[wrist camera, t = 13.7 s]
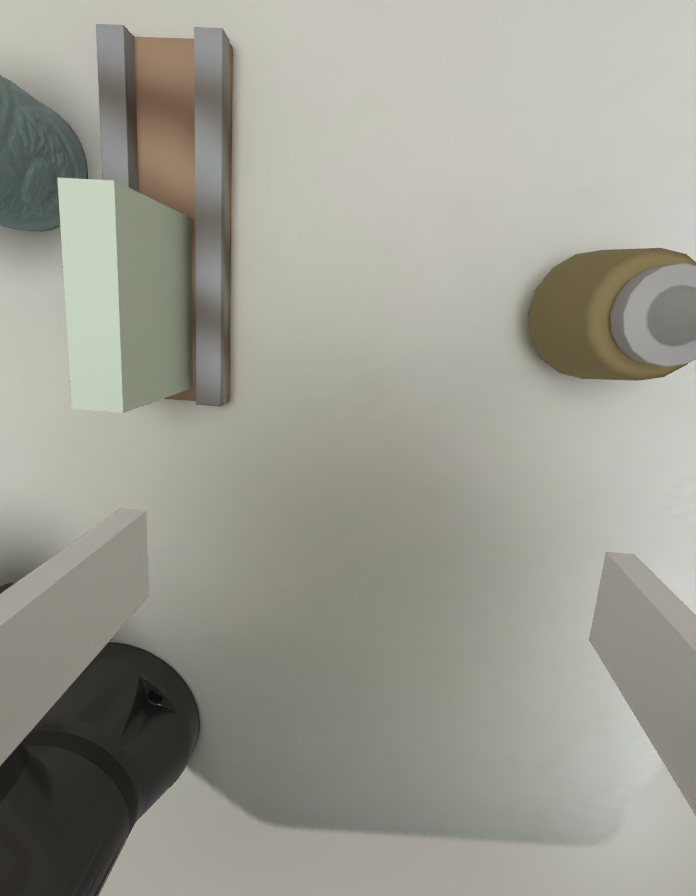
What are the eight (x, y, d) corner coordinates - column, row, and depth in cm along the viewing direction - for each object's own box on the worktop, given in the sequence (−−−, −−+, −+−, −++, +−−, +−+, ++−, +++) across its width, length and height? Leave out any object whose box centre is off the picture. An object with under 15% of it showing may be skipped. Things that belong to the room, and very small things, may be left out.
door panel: (193, 387, 41) (123, 412, 30) (150, 384, 41) (66, 408, 31) (191, 218, 38) (114, 180, 27) (146, 215, 38) (51, 177, 28)
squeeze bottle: (501, 281, 38) (592, 252, 21) (617, 238, 37) (815, 169, 20) (533, 388, 40) (641, 443, 23) (644, 350, 39) (850, 379, 21)
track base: (230, 401, 42) (220, 406, 40) (128, 393, 43) (112, 398, 40) (233, 47, 36) (222, 28, 34) (115, 43, 37) (96, 24, 34)
